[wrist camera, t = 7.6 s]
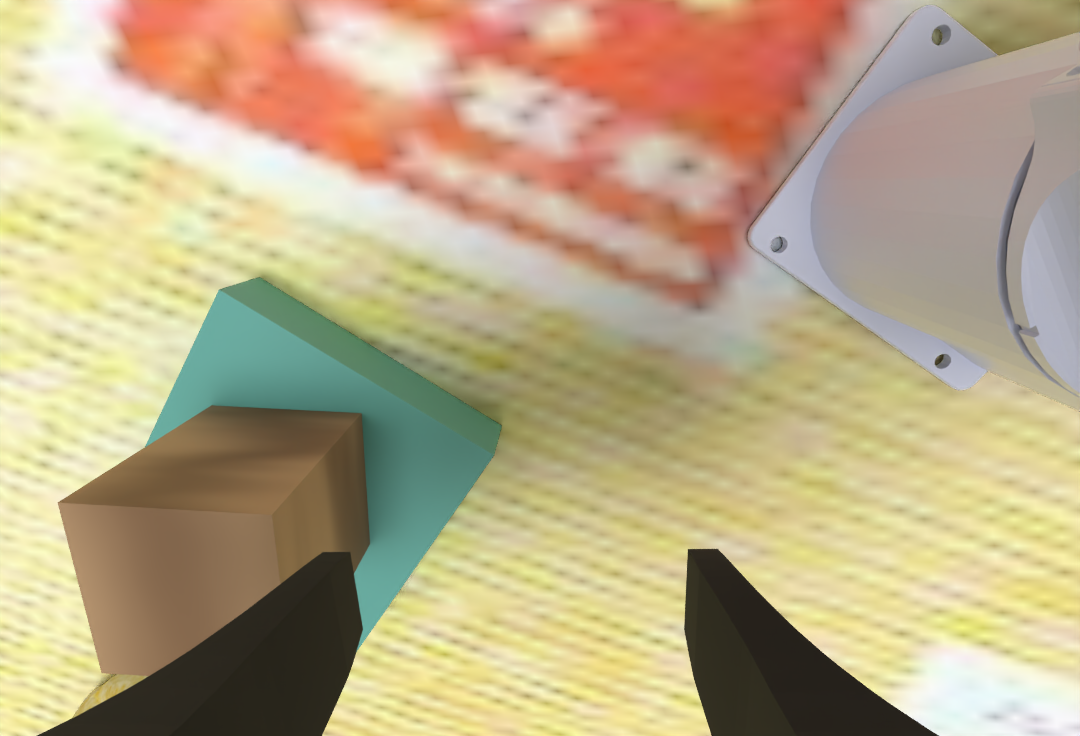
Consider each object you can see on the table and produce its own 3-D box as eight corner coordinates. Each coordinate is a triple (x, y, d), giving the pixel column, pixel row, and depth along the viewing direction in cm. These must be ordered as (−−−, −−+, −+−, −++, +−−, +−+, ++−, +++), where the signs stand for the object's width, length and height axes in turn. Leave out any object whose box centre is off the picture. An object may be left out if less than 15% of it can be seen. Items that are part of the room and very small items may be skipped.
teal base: (503, 419, 22) (494, 455, 19) (380, 597, 25) (356, 651, 22) (267, 274, 21) (219, 289, 18) (165, 480, 23) (109, 521, 20)
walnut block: (361, 413, 19) (271, 514, 13) (370, 543, 20) (293, 686, 15) (211, 405, 19) (57, 502, 13) (231, 535, 20) (101, 672, 15)
